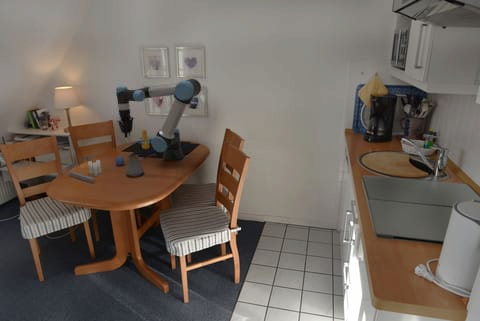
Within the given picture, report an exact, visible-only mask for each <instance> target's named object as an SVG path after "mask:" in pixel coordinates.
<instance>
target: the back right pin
mask: <svg viewBox="0 0 480 321" xmlns="http://www.w3.org/2000/svg"><path fill="white" fill-rule="evenodd" d="M92 163H93V162H92V160H91V161H87V166H88V171H89V172H88V173H89V175H94V170H93V164H92Z"/></svg>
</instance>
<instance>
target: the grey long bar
mask: <svg viewBox="0 0 480 321" xmlns="http://www.w3.org/2000/svg"><path fill="white" fill-rule="evenodd" d="M68 174H69V176H70V177H71V178H74V179H78V180H80V181H84V182H88V183H90V184H93V183H94V184H95V183H96V180H95V178H94V177H92V176H87V175H85V174H82V173H78V172H76V171H75V172H74V171H70V172H68Z"/></svg>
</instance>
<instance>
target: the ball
mask: <svg viewBox="0 0 480 321" xmlns="http://www.w3.org/2000/svg"><path fill="white" fill-rule="evenodd" d="M114 162H115V164H116V165H117V166H123V164H124V163H125V158H123V157H122V156H117V157H115V160H114Z"/></svg>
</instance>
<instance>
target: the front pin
mask: <svg viewBox="0 0 480 321" xmlns="http://www.w3.org/2000/svg"><path fill="white" fill-rule="evenodd" d="M95 163H97V169H98V174H102V166H101V160H100V159H97V160H95Z"/></svg>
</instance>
